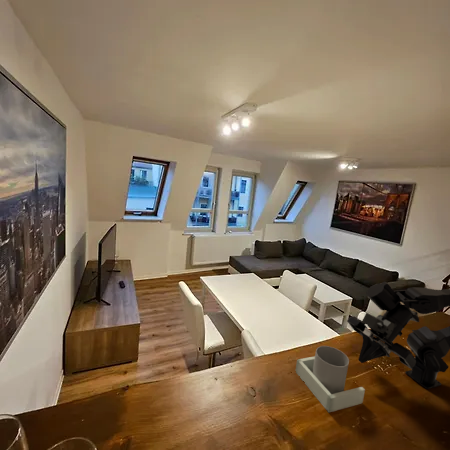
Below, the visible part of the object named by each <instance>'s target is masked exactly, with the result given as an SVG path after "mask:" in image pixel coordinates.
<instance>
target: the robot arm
mask: <svg viewBox="0 0 450 450" xmlns="http://www.w3.org/2000/svg"><path fill="white" fill-rule="evenodd" d="M365 295H366V297H367V298H368V299H369V300H370V301H371V302H372V303H374V305H376V307H377V308H378V309H380V310H381V311H385V312H384V313H383V314H378V315H377V316H374V315H372V314H370V313H369V312H368V313H367V312H366V313H365V315H364V317H363V319H360V318H359V317H356V316H354V315H352V316H349V318H348V319H346V322H347V324H348V325H349V326H350V327H351V329H353V330H354V332H356V333H357V334H359V335H360V336H361V337H362V345H361V349H360V352H359V356H358V359H357V360H358V362H360V363H361V364H363V363H367V362H369V361H371V360H375V359H379V358H382V357H388V358H390V357H391V355H390V354H391V353H393V354H395V355H396V356H398V357H399V362H400V363H402V364H403V365H404V366H406V367H407V368H409V369H410V370H406V371H405V375H407V376H408V377H410V378H411V379H412V380H414V381H415V382H417V383H418V384H419V385H420V386H422V387H424V388H425V389H427V390H428V389H429V390H430V389H433V388H437V387H440V386H441V385H442V383H441V382H440V381H439V380H437V377H438V373H439V372H440V373H446V371H447V370H448V369H449V365H448V364H447V363H446V361H444V359H443V358H444V357H446V356H447V355H448V353H449V351H450V326H447V327H444V328H441V329H438V330H431V329H430V328H429V327H428V326H425V325H424V326H422V327H420V328H418V329H412V332H410V333H409V334H408V335H407V338H406V344H407V345H408V347H409V348H410V349H408V348H407V347H405V346H403V345H402V344H400V343H398V342H394V341H395V340H396V338H397V337H398V336H399V337H401V336H402V335H403V333H402V331H403V329H404V328H405V327H406V326H407V325H408V324H409V322H410V321H413V322H416V323H420V316H419V315H418V314H420V315H429V314H432V313H437V312H440V311H441V310H443V309H444V308H447V307H448V308H449V307H450V288H446V289H445V288H444V289H433V288H427V287H417V286H416V287H415V286H412V287H408V288H406V289H399V290H398V289H397V290H394V289H393V288H392V287H391V285H389V283H387V282H386V281H382V282H381V283H376V284H373V285H371V286H370V287H368V289H367V290H366V293H365ZM414 355H415V356H414Z"/></svg>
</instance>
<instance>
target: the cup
mask: <svg viewBox="0 0 450 450" xmlns="http://www.w3.org/2000/svg"><path fill="white" fill-rule="evenodd" d="M314 356H315V359H314V366H313V371H311V372H312V373H313V374H314V375H315V377H316V378H317V379H318V380H319V381H320V382H321V383H322V384H323V385H324V387H325V388H326V389H327V390H328V391H329V392H330V393H331V394H335V393H339V392H343V391H345V385H346V379H347V373H348V368H349V363H350V359H349V357H348V356H347V354H346V353H344V352H343V351H342V350H339V349H338V348H336V347H334V346H328V345H320V346H318V347H317V348H316V350H315V354H314Z"/></svg>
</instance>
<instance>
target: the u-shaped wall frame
mask: <svg viewBox="0 0 450 450" xmlns="http://www.w3.org/2000/svg"><path fill="white" fill-rule="evenodd" d="M314 359H315V355H314V356H310V357H304V358H299V359H296V365H295V371H296V372H295V373H296V374H297V376H298V377H299V376H300V377H299V378H300V380H301V381H302V382H303V381H304V382H305V383H304V382H303V383H304V384H305V385H306V387H307V388H308V390H310V391H311V393H312V394H313V396H314V397H315V398H316V399H317V400H318V401H319V403H320V404H321V405H322V406H323V408H324V409H325V410H326V411H327V413H331V412H332V413H333V412H337V411H339V410H343V409H347V408H350V407H354V406H357V405H360V404H363V402H364V397H365V391H366V389H365V388H364V387H363V386H359V387H356V388H355V387H354V388H351V389H347V390H344V391H343V392H339V393H335V394H331V393H330V392H329V391H328V390H327V389H326V388H325V387H324V385H323V384H322V383H321V382H320V381H319V380H318V379H317V378H316V377H315V375H314V374H313V373H312V372H313V366H314Z"/></svg>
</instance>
